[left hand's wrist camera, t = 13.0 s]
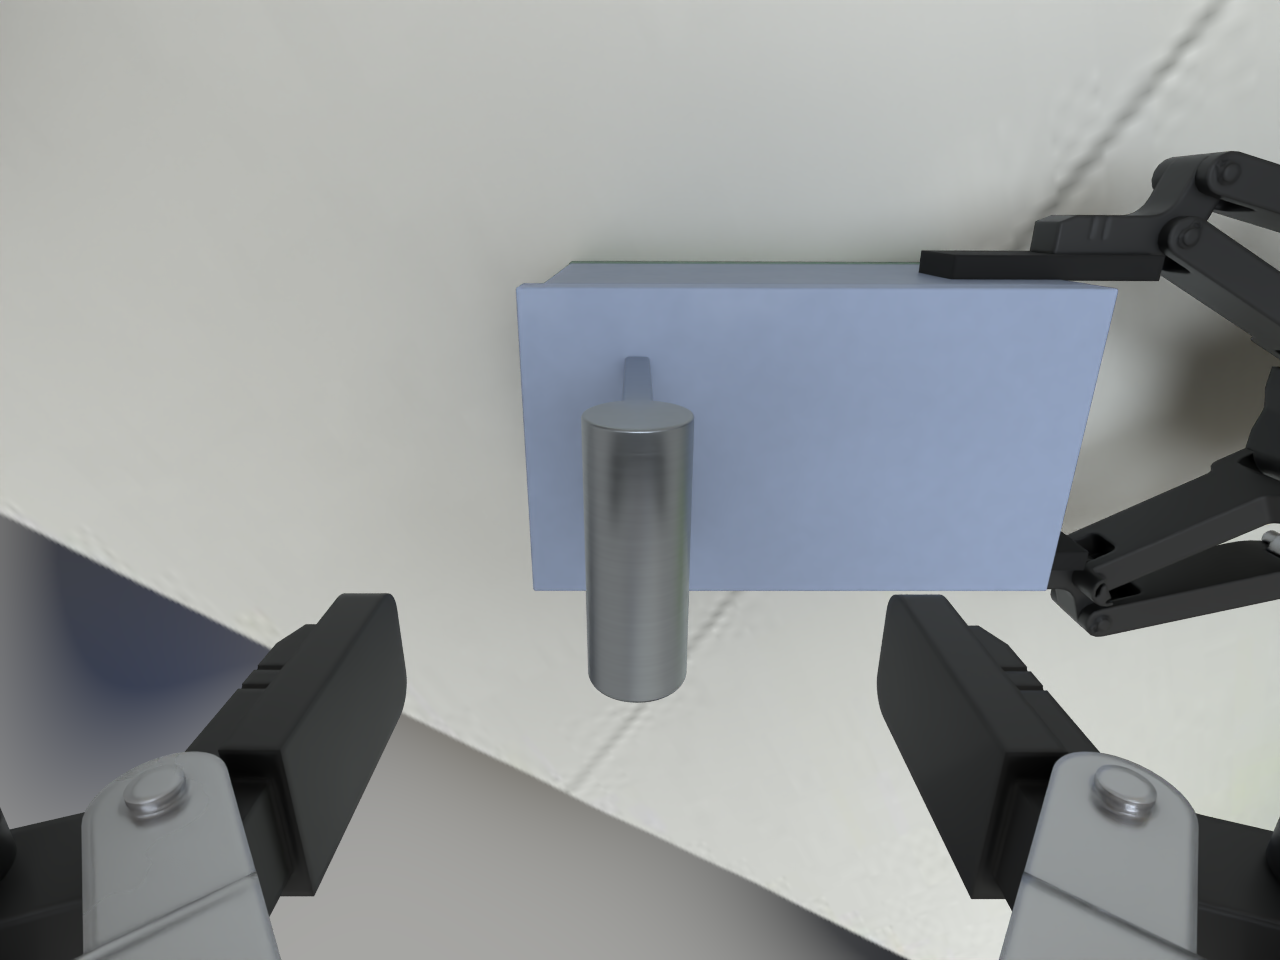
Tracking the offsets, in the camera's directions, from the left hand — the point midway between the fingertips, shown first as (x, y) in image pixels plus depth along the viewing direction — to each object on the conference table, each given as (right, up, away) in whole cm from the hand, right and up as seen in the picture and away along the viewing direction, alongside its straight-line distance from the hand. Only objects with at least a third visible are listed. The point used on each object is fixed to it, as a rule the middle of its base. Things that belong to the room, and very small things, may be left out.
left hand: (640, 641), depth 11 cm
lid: (+5, +4, +11) cm, 12 cm away
